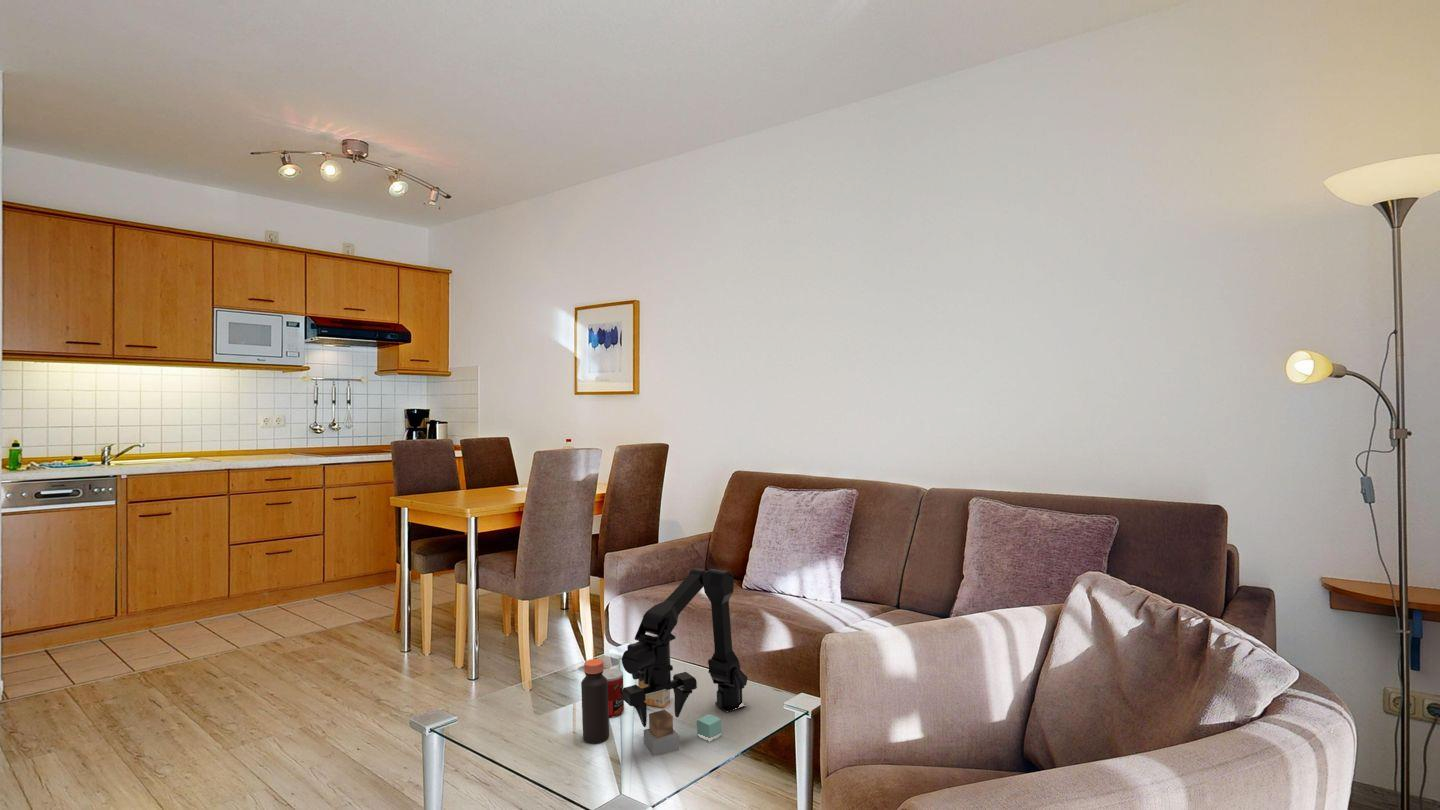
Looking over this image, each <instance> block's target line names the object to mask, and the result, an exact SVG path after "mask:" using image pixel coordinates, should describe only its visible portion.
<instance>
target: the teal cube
mask: <svg viewBox="0 0 1440 810" xmlns="http://www.w3.org/2000/svg"><path fill="white" fill-rule="evenodd" d="M722 724H723V723H722V719H721V718H719V717H718V716H714V715H712V714H710V713H709V714H706V715H704V716H701V718H697V719H696V725H697V726H696V728H697V729H696V730H697V731H696V733H697V734H700V735H703V736H705V737H708V738H711V737H714V736H716V735H718V734H720V733H722V734H723V728H722V727H723V725H722Z"/></svg>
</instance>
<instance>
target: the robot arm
mask: <svg viewBox="0 0 1440 810" xmlns="http://www.w3.org/2000/svg"><path fill="white" fill-rule="evenodd" d="M734 582H735V579H734V575H733V574H732V573H731V572H729V571H726V570H720V569H714V568H709V569H708V570H705V569H701V568H693V569H690V571H689V572H688V575H687V577H685V579H684V580H683V581H682V582H681V583H680V584H679V585H678V586H677V587H676V588H675V589H674V591H672V593H670V595H669V596H668V597H667V598H666V599H664V601H662V602H660V603H657V604H655V605H652V607H651V608H649V609H648V610H646V612H645V613H644V614H643V616H642V620H641V622H640V624H639V626H638V628H637V632H636V633H635V636H634V640H635V641H637V642H634V643H630V644H628V645H627V647H626V648H627V650H625V651H624V652H623V654H622V657H621V665H622V667H623V669H624V671H626V673H627V674H630V675H631V677H632V679H633V680H638V679H639V681H640V682H641V681H644V684H648V687H645V688H642V689H641V688H640V687H639V686H638V685H637V684H633V685H630V686H629V685H628V686H626V687H623V690H622V699H623V700H624V703H626V704H627V705H628V706H630V707H633V708H634V709H635V710H636V712H637V715H638V718H639V720H640V723H641V726H642V727H643V728H646V727H647V721H648V720H647V717H648V715H647V709H648V708H647V706H648V705H647V704H646V703H645V702H644V701H645V700H646V696H647V695H651V694H655V693H658V692H662V691H666V690H669V689H670V690H673V694H674V705H673V706H674V708H673V709H674V716H675V718H679V717H680V715H681V712H682V710H683V707H684V705H685V703H686V701H687V699H688V697H689V696H690V695H691V694H692V693H693V690H697V688H698V684H697V683H698V682H697V679H696V677H694V676H693V675H691V674H690V673H689V672H687V671H684V672H680V673H675V674H673V676H672V674H671V671H674V667H673V665H671V645H670V643H671V641H674V640H676V636H675V635H674V634H673V633H672V631H673V630H674V629H675V627H676V626H677V624H678V620H679V615H680V614H681V612H682V611H683V610H684V609H685V608H686V607H687V606H688V605H689V603H690V602H691V601H692V600H693V599H694V598H695V596H696V595H698V593H699V592H700V591H701V590H702V589H703V591H704V594H705V596H706V597H707V598H708V600H709V602H710V605H711V606H710V607H711V619H712V621H711V622H712V633H713V634H712V635H713V644H714V646H713V647H714V653H712V656H711V658H710V659H708V661H707V665H708V674H709V675H710V678H711V679H712V683H713V684H715V685H717V690H716V702H715V705H716V706H717V705H718V706H717V707H718V708H720V707H721V708H722V710H723V709H724V710H725V711H724V710H723V711H724V712H726V711H729V712H731V711H730V710H733V709H735V708H738V707H739V705H740V704H741V703H742V702H743V689H745V687H746V686H747V683H748V676H747V675H746V674H745V673H744V672H743V671H742V670H741V666H740V660H739V658H738V657H737V655H736V653H735V651H734V650H733V639H732V629H731V628H732V627H731V615H730V613H731V612H730V604H729V603H730V599H731V597H732V595H733V593H734V590H735V589H734V587H735V586H734V585H735V583H734ZM646 633H648V634H646ZM650 634H652V635H650ZM654 635H655V636H654ZM671 676H672V677H671ZM671 678H672V679H671ZM721 708H720V709H721ZM733 711H734V710H733Z"/></svg>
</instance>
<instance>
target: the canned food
mask: <svg viewBox="0 0 1440 810" xmlns="http://www.w3.org/2000/svg"><path fill="white" fill-rule="evenodd" d="M602 675H603V676H604V677H606V678H607V681H608V711H609V719H612V718H616V717H619V716H621V715H622V714H623V713H622V712H624V710H625V701H624V700H623V699H622V690H623V689H624V673H623V671H622V670H621V669H618V668H604V670H603V673H602ZM621 713H622V714H621Z"/></svg>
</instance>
